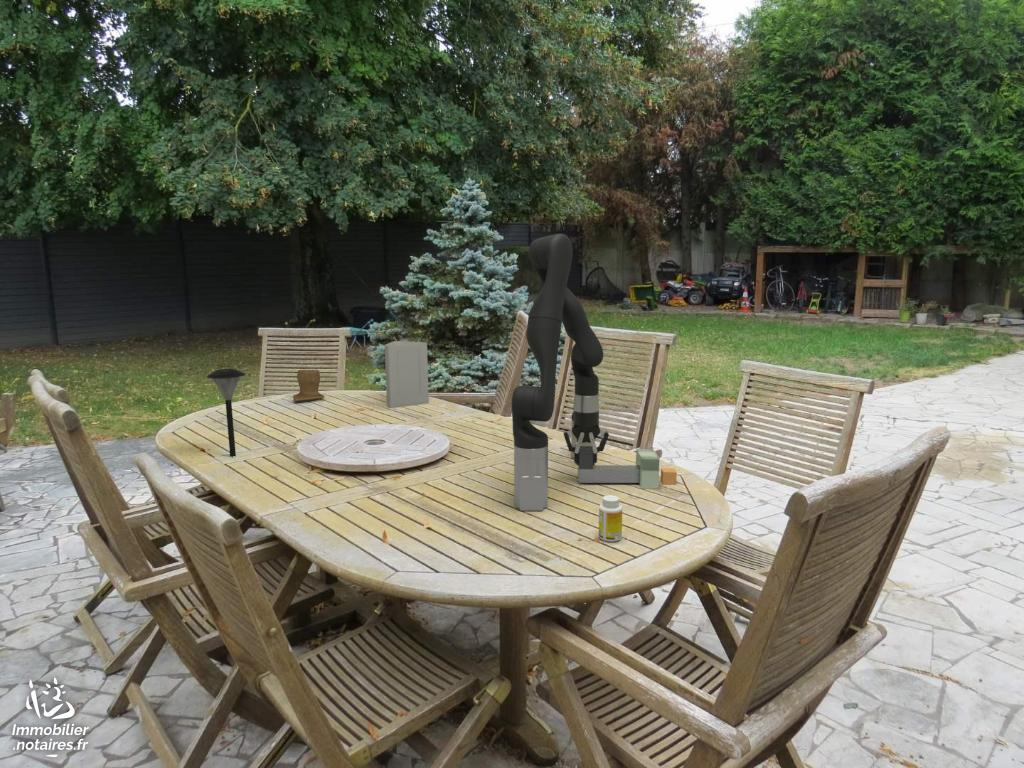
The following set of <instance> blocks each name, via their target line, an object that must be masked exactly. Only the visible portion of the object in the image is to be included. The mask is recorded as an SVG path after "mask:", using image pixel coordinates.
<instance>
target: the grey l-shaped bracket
mask: <svg viewBox="0 0 1024 768" xmlns="http://www.w3.org/2000/svg"><path fill="white" fill-rule="evenodd" d="M577 480H578V483H579V484H589V483H590V484H640V467H639V465H636V464H635V465H633V464H632V465H630V464H626V465H624V464H621V465H620V464H617V465H616V464H612V465H609V464H608V465H607V464H606V465H605V464H604V465H603V464H599V465H597V464H595V465H593V449H592V446H581V447H580V449H579V465H577Z"/></svg>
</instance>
